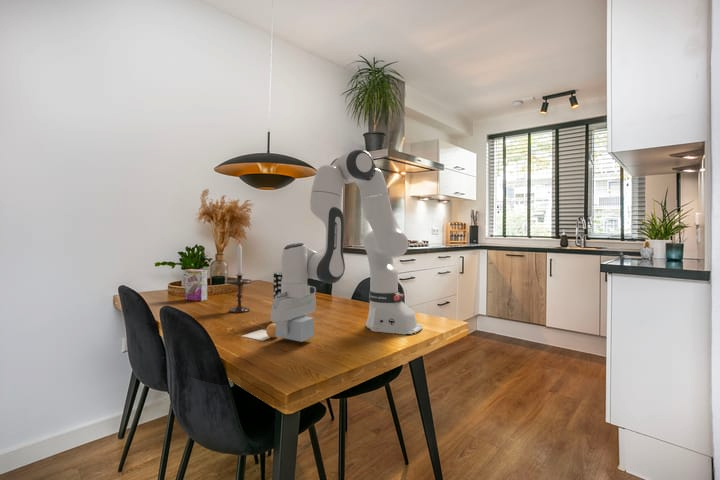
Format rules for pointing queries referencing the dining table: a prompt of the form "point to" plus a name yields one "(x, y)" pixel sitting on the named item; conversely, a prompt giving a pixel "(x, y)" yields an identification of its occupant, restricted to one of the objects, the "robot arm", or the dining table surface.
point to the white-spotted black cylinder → (277, 284)
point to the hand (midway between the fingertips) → (294, 330)
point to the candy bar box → (195, 285)
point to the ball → (271, 330)
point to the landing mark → (258, 335)
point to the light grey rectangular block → (297, 329)
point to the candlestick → (239, 284)
